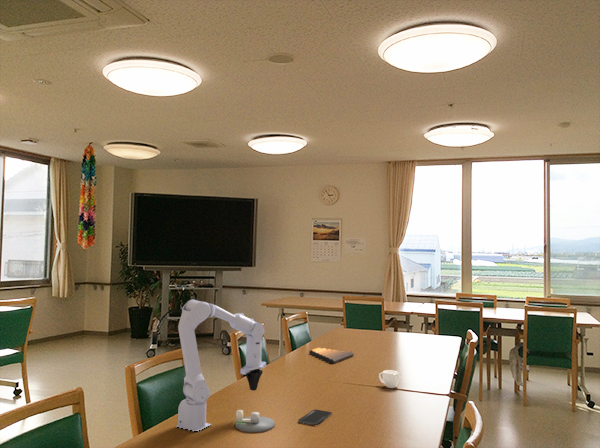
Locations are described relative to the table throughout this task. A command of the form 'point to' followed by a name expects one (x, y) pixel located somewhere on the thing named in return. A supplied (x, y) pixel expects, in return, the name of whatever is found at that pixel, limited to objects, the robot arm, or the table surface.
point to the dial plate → (256, 425)
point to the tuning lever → (253, 419)
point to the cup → (390, 378)
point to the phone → (315, 417)
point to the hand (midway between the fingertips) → (253, 389)
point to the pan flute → (331, 355)
